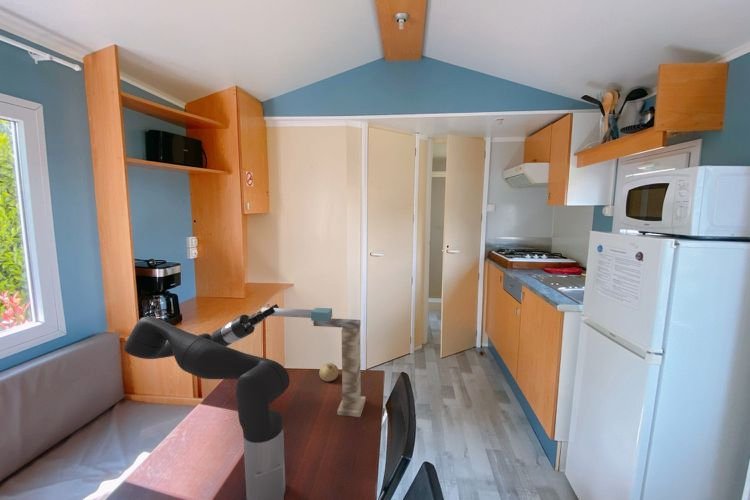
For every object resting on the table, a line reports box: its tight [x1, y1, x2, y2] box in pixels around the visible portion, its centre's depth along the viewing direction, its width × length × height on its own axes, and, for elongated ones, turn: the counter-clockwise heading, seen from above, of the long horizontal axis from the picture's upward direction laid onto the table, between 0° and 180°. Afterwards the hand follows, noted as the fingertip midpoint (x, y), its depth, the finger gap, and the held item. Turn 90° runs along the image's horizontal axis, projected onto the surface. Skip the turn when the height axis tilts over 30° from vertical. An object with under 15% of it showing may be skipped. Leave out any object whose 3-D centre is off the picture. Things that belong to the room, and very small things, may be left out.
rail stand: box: [312, 317, 366, 418], centre depth 118 cm, size 17×10×32 cm, turn 81°
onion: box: [318, 362, 339, 382], centre depth 139 cm, size 8×8×7 cm
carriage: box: [260, 307, 333, 322], centre depth 118 cm, size 25×5×3 cm, turn 81°
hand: (275, 308), depth 119 cm, fingers closed on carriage, 2 cm apart
